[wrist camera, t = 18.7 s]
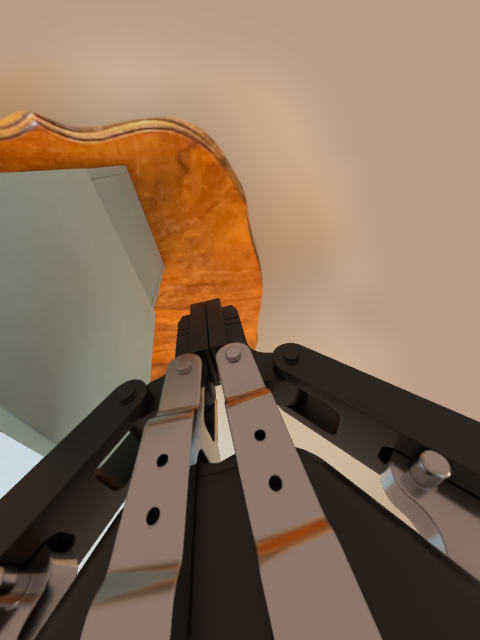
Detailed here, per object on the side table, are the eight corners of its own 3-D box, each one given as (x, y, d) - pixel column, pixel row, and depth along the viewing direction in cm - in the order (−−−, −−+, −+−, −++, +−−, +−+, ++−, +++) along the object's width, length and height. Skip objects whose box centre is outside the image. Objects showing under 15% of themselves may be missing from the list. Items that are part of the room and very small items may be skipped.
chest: (62, 289, 37) (5, 346, 26) (-11, 191, 28) (-147, 212, 17) (165, 266, 38) (153, 313, 27) (125, 164, 29) (82, 168, 18)
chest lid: (125, 504, 12) (140, 499, 12) (-405, 202, 3) (-328, 189, 3) (149, 315, 26) (156, 314, 26) (75, 170, 17) (85, 167, 17)
